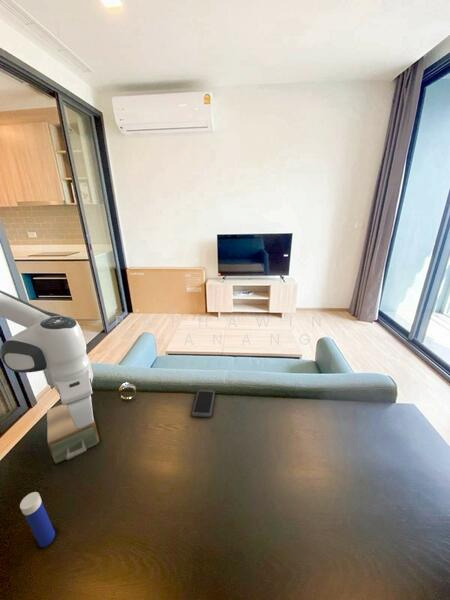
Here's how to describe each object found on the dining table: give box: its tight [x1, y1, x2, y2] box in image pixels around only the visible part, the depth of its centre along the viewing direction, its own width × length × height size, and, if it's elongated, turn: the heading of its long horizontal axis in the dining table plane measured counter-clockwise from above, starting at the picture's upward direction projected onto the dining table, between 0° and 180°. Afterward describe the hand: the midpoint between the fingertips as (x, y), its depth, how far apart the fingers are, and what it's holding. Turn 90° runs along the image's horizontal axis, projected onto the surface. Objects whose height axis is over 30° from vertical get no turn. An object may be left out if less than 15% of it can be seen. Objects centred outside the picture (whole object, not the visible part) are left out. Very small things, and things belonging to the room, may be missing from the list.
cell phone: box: [191, 389, 216, 418], centre depth 97 cm, size 7×14×1 cm, turn 175°
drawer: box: [51, 426, 99, 464], centre depth 80 cm, size 19×11×7 cm, turn 35°
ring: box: [117, 382, 137, 401], centre depth 98 cm, size 7×3×8 cm, turn 98°
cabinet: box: [46, 403, 100, 464], centre depth 83 cm, size 16×13×9 cm
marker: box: [19, 491, 56, 548], centre depth 55 cm, size 3×3×14 cm
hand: (84, 416), depth 68 cm, fingers closed
